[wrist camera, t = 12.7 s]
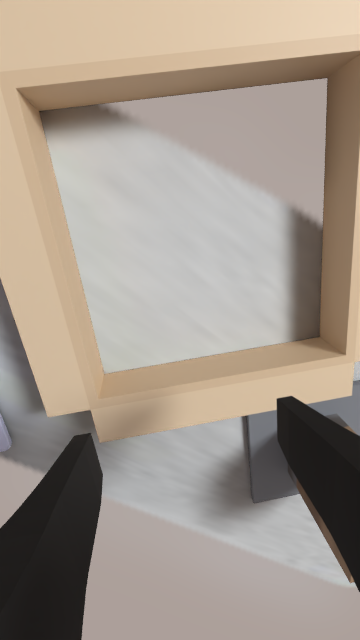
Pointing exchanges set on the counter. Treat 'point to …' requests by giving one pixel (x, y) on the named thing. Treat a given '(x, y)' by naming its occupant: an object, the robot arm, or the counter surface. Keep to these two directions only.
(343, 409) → the slate mat
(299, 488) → the walnut block
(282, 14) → the wooden square frame
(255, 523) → the counter surface
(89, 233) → the counter surface
